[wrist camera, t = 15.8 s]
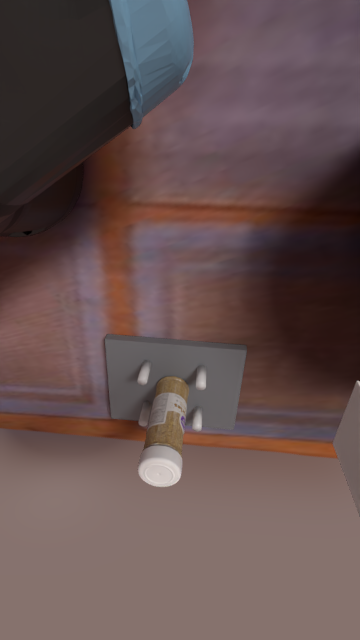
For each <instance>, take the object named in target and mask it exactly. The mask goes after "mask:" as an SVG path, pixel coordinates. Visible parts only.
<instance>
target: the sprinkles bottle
mask: <svg viewBox="0 0 360 640" xmlns="http://www.w3.org/2000/svg"><path fill="white" fill-rule="evenodd" d="M188 394H189V387H188V384H187V383H186V382H185V381H184V380H183V379H181V378H179V377H175V376H169V377H164V378H163V379H161V380H160V381H159V382H158V383H157V386H156V395H155V399H154V402H153V406H152V410H151V415H150V419H149V424H148V428H147V433H146V440H145V445H144V449H143V452H142V453H141V456H140V460H139V465H138V473H139V476H140V477H141V479H142V480H144V481H145V482H146V483H148V484H150V485H153V486H157V487H167V486H171V485H173V484H175V483H176V482H178V480H179V479H180V477H181V472H182V456H181V452H182V443H183V435H184V429H185V420H186V411H187V398H188Z"/></svg>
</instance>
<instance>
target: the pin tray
mask: <svg viewBox="0 0 360 640" xmlns="http://www.w3.org/2000/svg"><path fill="white" fill-rule="evenodd" d="M105 349H106V361H107V373H108V385H109V398H110V410H111V418H112V419H123V420H134V421H139V425H140V426H147V424H148V422H149V419H150V415H151V410H152V406H153V402H154V399H155V395H156V386H157V383H158V382H159V381H160V380H161V379H163V378H164V377H169V376H175V377H179V378H181V379H183V380H184V381H185V382H186V383H187V384H188V387H189V394H188V398H187V411H186V420H185V425H188V426H193V427H192V429H193V430H194V431H200V430H201V429H202V427H209V428H220V429H231V430H234V424H235V418H236V412H237V407H238V401H239V395H240V389H241V383H242V377H243V371H244V365H245V359H246V353H247V347H246V345H238V344H225V343H213V342H200V341H188V340H175V339H163V338H151V337H138V336H126V335H113V334H107V335H106V337H105Z"/></svg>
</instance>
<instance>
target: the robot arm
mask: <svg viewBox="0 0 360 640" xmlns="http://www.w3.org/2000/svg"><path fill="white" fill-rule="evenodd" d="M193 47H194V39H193V30H192V23H191V17H190V12H189V7H188V3H187V0H0V236H11V237H24V236H31V235H35V234H38V233H41V232H43V231H46V230H48V229H49V228H51V227H52V226H54V225H56V224H57V223H59V222H60V221H61V220H63V219H64V218H65V217H66V216H67V215H68V214H69V212H70V211H71V210H72V208H73V207H74V205H75V203H76V201H77V199H78V197H79V194H80V191H81V187H82V181H83V161H85V160H86V159H87V158H89V157H90V156H91V155H93V154H94V153H95V152H97V151H98V150H99V149H101V148H102V147H103V146H105V145H106V144H107V143H109V142H110V141H111V140H113V139H114V138H115V137H117V136H118V135H119V134H121V133H122V132H123V131H125V130H126V129H127V128H129V127H130V126H131V127H132V128H133V129H136V128H137V127H138V126H139V125H140V124H141V122H142V118H143V117H144V116H145V115H146V114H148V113H149V112H150V111H151V110H152V109H154V108H155V107H156V106H157V105H159V104H160V103H161V102H162V101H163V100H165V99H166V98H167V97H168V96H170V95H171V94H172V93H173V92H174V91H176V90H177V89H178V88H179V87H180V86H181V85H182V83H183V82H184V81H185V79H186V77H187V76H188V73H189V70H190V67H191V63H192V60H193ZM333 446H334V448H335V451H336V454H337V457H338V459H339V462H340V465H341V467H342V470H343V472H344V475H345V478H346V481H347V483H348V486H349V489H350V491H351V494H352V497H353V499H354V502H355V505H356V507H357V510H358V513H359V516H360V381H356V384H355V387H354V389H353V392H352V394H351V397H350V400H349V402H348V405H347V407H346V410H345V413H344V415H343V418H342V420H341V423H340V426H339V428H338V431H337V433H336V436H335V439H334V441H333Z"/></svg>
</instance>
